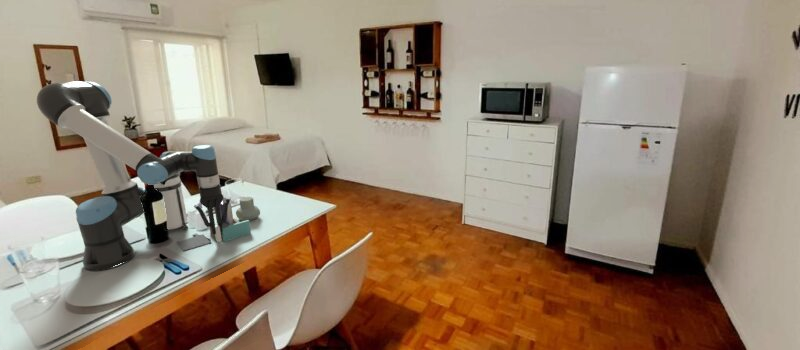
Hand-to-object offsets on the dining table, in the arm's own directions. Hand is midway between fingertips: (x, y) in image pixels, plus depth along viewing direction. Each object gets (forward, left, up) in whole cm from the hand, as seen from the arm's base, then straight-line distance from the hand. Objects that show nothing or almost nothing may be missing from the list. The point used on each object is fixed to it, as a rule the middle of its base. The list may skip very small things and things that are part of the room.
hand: (218, 240), depth 150 cm
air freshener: (+19, +17, -2) cm, 25 cm away
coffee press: (-10, +31, -2) cm, 33 cm away
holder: (+6, +7, -2) cm, 9 cm away
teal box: (+8, +1, -2) cm, 8 cm away
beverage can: (+6, +7, -2) cm, 9 cm away
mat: (-7, +8, -2) cm, 11 cm away
